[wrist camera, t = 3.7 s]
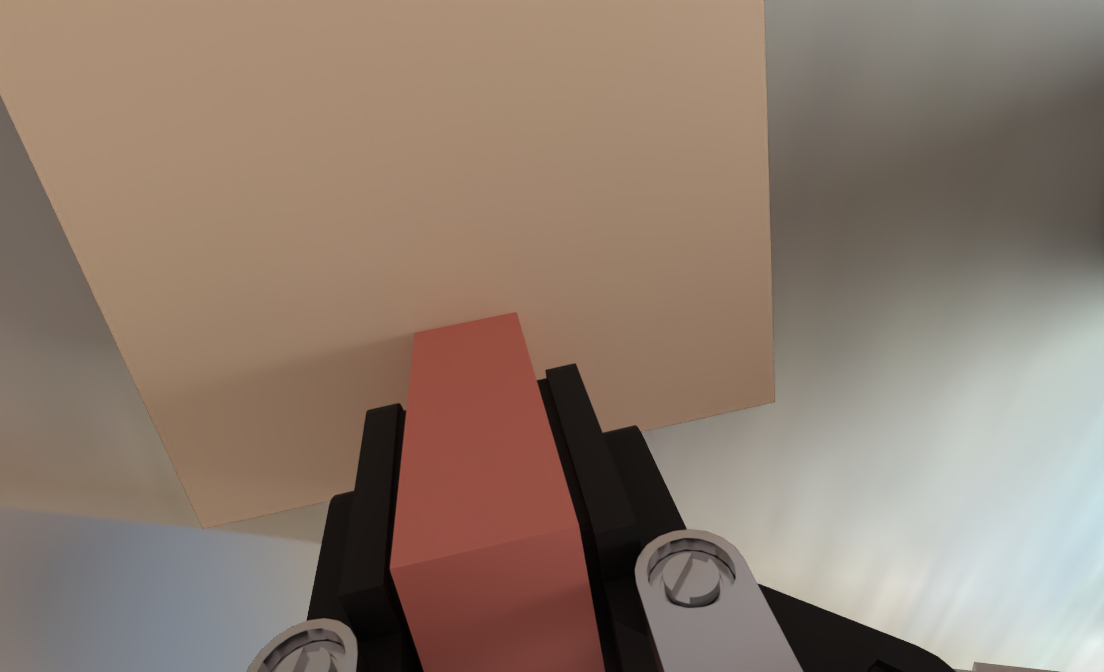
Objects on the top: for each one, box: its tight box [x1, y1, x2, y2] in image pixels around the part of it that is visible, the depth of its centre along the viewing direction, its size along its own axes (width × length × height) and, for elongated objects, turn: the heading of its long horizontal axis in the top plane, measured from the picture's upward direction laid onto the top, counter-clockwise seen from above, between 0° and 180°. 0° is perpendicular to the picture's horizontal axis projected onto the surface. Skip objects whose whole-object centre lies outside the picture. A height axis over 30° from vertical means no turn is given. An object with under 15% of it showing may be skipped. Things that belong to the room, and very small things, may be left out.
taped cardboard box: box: [0, 0, 775, 672], centre depth 9 cm, size 12×12×7 cm
